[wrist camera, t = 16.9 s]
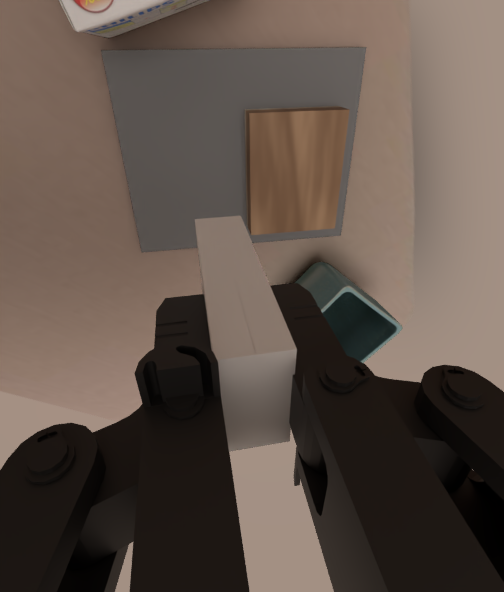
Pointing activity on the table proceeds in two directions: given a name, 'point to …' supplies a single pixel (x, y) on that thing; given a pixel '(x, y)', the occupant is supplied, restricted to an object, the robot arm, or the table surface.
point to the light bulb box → (119, 14)
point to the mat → (214, 128)
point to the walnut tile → (293, 167)
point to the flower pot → (349, 311)
